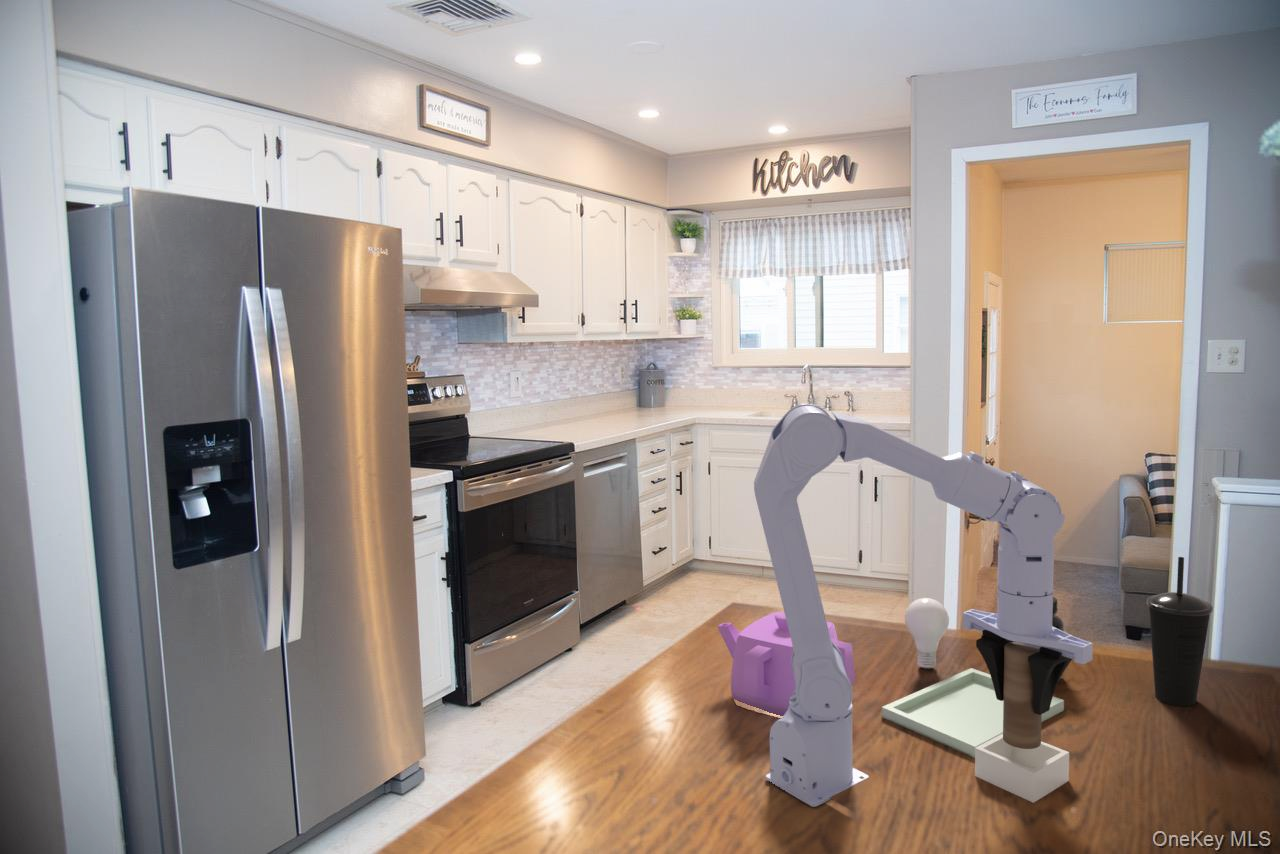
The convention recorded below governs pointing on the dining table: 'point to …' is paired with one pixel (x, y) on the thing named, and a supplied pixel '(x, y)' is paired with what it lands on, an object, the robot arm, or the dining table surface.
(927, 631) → the lightbulb
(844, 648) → the teakettle
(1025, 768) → the square cup
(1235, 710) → the dining table surface
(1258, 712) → the dining table surface
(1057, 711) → the tray
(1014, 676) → the walnut dowel
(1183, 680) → the drinking cup
